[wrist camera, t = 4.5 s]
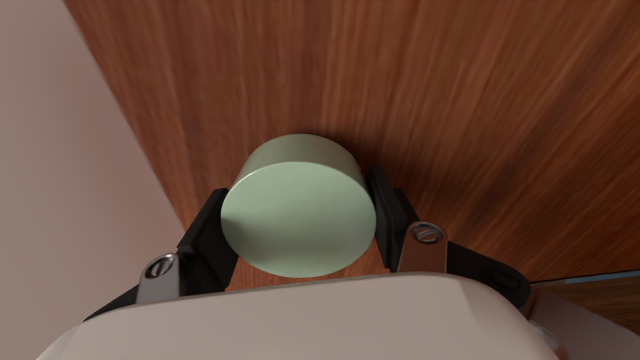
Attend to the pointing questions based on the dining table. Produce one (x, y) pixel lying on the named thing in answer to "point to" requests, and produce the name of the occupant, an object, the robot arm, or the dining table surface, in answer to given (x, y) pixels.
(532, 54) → the dining table surface
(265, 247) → the disc
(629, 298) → the book
